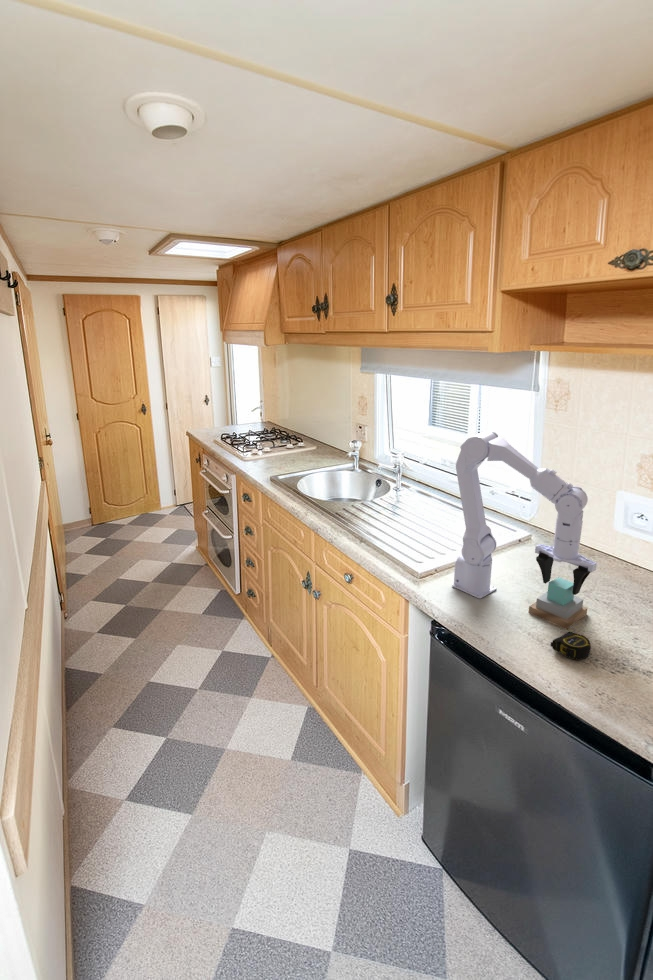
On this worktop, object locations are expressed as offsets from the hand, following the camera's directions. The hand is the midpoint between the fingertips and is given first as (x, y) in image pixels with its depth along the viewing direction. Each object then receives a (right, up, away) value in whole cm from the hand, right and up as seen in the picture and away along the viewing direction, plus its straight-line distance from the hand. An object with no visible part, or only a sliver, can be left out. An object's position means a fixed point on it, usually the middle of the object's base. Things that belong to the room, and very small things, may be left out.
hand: (560, 587), depth 130 cm
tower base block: (0, -8, +2) cm, 8 cm away
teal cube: (0, -3, +1) cm, 3 cm away
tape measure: (-4, -12, -13) cm, 18 cm away
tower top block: (0, -5, +2) cm, 6 cm away
